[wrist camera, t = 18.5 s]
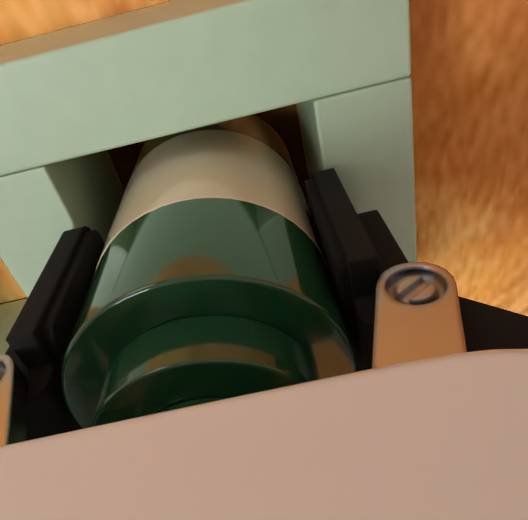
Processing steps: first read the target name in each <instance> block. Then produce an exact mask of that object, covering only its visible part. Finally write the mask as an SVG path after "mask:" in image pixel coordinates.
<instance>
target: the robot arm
mask: <svg viewBox="0 0 528 520" xmlns="http://www.w3.org/2000/svg"><path fill="white" fill-rule="evenodd" d="M305 186H306V192H307V197H308V203H309V208H310V214H311V218H312V221H313V224H314V227H315V230H316V233H317V236H318V239H319V242H320V245H321V248H322V251H323V254H324V257H325V260H326V263H327V268H328V271H329V274H330V277H331V280H332V283H333V286H334V289H335V292H336V295H337V298H338V301H339V304H340V307H341V310H342V313H343V316H344V319H345V322H346V325H347V327H348V330H349V333H350V336H351V339H352V342H353V345H354V349H355V353H356V357H357V361H358V372H354V373H349V374H344V375H339V376H334V377H329V378H325V379H320V380H315V381H310V382H305V383H300V384H295V385H290V386H286V387H281V388H276V389H271V390H266V391H261V392H256V393H251V394H247V395H242V396H237V397H232V398H227V399H223V400H218V401H213V402H208V403H203V404H199V405H194V406H189V407H184V408H180V409H175V410H170V411H165V412H160V413H156V414H151V415H146V416H141V417H137V418H132V419H127V420H122V421H118V422H113V423H108V424H104V425H99V426H94V427H89V428H85V429H81V428H80V426H79V425H78V424H77V423H76V421H75V420H74V418H73V416H72V415H71V413H70V412H69V409H68V407H67V404H66V402H65V399H64V395H63V390H62V385H61V368H62V363H63V359H64V355H65V352H66V349H67V347H68V344H69V341H70V338H71V336H72V333H73V330H74V328H75V325H76V322H77V320H78V317H79V314H80V312H81V309H82V306H83V304H84V301H85V298H86V296H87V293H88V290H89V288H90V285H91V282H92V280H93V277H94V274H95V271H96V266H97V263H98V261H99V258H100V255H101V253H102V250H103V248H104V245H105V243H104V241H103V239H102V237H101V235H100V234H99V232H98V231H97V230H91V229H90V228H89V227H87V226H84V227H80V228H76V229H71V230H67V231H64V232H63V233H62V235H61V237H60V239H59V241H58V243H57V245H56V246H55V248H54V250H53V252H52V254H51V256H50V258H49V259H48V261H47V263H46V265H45V267H44V269H43V271H42V273H41V274H40V276H39V278H38V280H37V282H36V284H35V286H34V287H33V289H32V291H31V293H30V295H29V297H28V299H27V300H26V302H25V304H24V306H23V308H22V310H21V312H20V314H19V315H18V317H17V319H16V321H15V323H14V325H13V327H12V328H11V330H10V332H9V334H8V336H7V338H6V341H7V343H8V344H9V347H8V349H7V351H6V353H5V354H0V520H528V316H524V315H521V314H517V313H514V312H511V311H507V310H504V309H500V308H497V307H493V306H490V305H486V304H483V303H480V302H476V301H473V300H469V299H466V298H462V297H459V296H458V291H457V285H456V282H455V279H454V277H453V276H452V275H451V274H450V273H449V272H448V271H447V270H446V269H444V268H442V267H440V266H438V265H434V264H430V263H426V262H408V260H407V259H406V257H405V255H404V254H403V252H402V250H401V249H400V247H399V245H398V244H397V242H396V240H395V238H394V237H393V235H392V233H391V232H390V230H389V228H388V227H387V225H386V223H385V222H384V220H383V218H382V217H381V215H380V213H379V212H378V211H377V210H372V211H368V212H363V213H359V214H357V213H356V211H355V209H354V207H353V205H352V203H351V201H350V199H349V197H348V195H347V193H346V191H345V189H344V187H343V185H342V183H341V181H340V179H339V177H338V175H337V173H336V171H335V169H334V168H330V169H326V170H322V171H318V172H313V173H312V179H309V180H305Z"/></svg>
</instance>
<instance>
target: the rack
mask: <svg viewBox="0 0 528 520" xmlns="http://www.w3.org/2000/svg"><path fill="white" fill-rule="evenodd" d="M410 74H411V46H410V13H409V0H173V1H169V2H165V3H161V4H157V5H153V6H150V7H146V8H142V9H138V10H134V11H130V12H127V13H123V14H119V15H115V16H111V17H107V18H104V19H100V20H96V21H92V22H88V23H84V24H81V25H77V26H73V27H69V28H65V29H61V30H58V31H54V32H50V33H46V34H42V35H38V36H35V37H31V38H27V39H23V40H19V41H15V42H12V43H8V44H4V45H0V258H1V259H2V261H3V262H4V264H5V265H6V267H7V268H8V270H9V271H10V273H11V274H12V276H13V277H14V279H15V280H16V282H17V283H18V285H19V286H20V288H21V289H22V291H23V292H24V294H25V295H26V297H27V298H26V299H22V300H18V301H13V302H9V303H4V304H0V354H5V353H6V351H7V349H8V347H9V344H8V343H7V341H6V338H7V336H8V334H9V332H10V330H11V328H12V327H13V325H14V323H15V321H16V319H17V317H18V315H19V314H20V312H21V310H22V308H23V306H24V304H25V302H26V300H27V299H28V297H29V295H30V293H31V291H32V289H33V287H34V286H35V284H36V282H37V280H38V278H39V276H40V274H41V273H42V271H43V269H44V267H45V265H46V263H47V261H48V259H49V258H50V256H51V254H52V252H53V250H54V248H55V246H56V245H57V243H58V241H59V239H60V237H61V235H62V233H63V232H64V231H67V230H71V229H76V228H80V227H84V226H87V227H89V228H90V229H91V230H97V231H98V232H99V234H100V235H101V237H102V239H103V241H104V243H105V242H106V240H107V237H108V234H109V232H110V229H111V226H112V224H113V221H114V218H115V216H116V213H117V210H118V208H119V205H120V202H121V200H122V197H123V195H124V192H125V190H124V187H123V185H122V183H121V180H120V178H119V176H118V174H117V171H116V169H115V167H114V164H113V162H112V160H111V157H110V155H109V153H108V151H107V150H109V149H113V148H117V147H122V146H126V145H130V144H134V143H138V142H142V141H146V140H150V139H154V138H158V137H162V136H167V135H171V134H175V133H179V132H183V131H187V130H191V129H195V128H199V127H203V126H207V125H212V124H216V123H220V122H224V121H228V120H232V119H236V118H240V117H244V116H248V115H253V114H257V113H261V112H265V111H269V110H273V109H277V108H281V107H285V106H289V105H293V104H296V107H297V113H298V119H299V124H300V130H301V136H302V142H303V147H304V153H305V159H306V164H307V170H308V176H309V179H312V173H313V172H318V171H322V170H326V169H330V168H334V169H335V171H336V173H337V175H338V177H339V179H340V181H341V183H342V185H343V187H344V189H345V191H346V193H347V195H348V197H349V199H350V201H351V203H352V205H353V207H354V209H355V211H356V213H357V214H359V213H363V212H368V211H372V210H377V211H378V212H379V213H380V215H381V217H382V218H383V220H384V222H385V223H386V225H387V227H388V228H389V230H390V232H391V233H392V235H393V237H394V238H395V240H396V242H397V244H398V245H399V247H400V249H401V250H402V252H403V254H404V255H405V257H406V259H407V260H408V262H417V243H416V210H415V177H414V144H413V110H412V80H411V78H410V77H409V75H410Z"/></svg>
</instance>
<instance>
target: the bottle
mask: <svg viewBox="0 0 528 520" xmlns="http://www.w3.org/2000/svg"><path fill="white" fill-rule="evenodd" d="M354 372H358V361H357V357H356V353H355V349H354V345H353V342H352V339H351V336H350V333H349V330H348V327H347V325H346V322H345V319H344V316H343V313H342V310H341V307H340V304H339V301H338V298H337V295H336V292H335V289H334V286H333V283H332V280H331V277H330V274H329V271H328V268H327V263H326V260H325V257H324V254H323V251H322V248H321V245H320V242H319V239H318V236H317V233H316V230H315V227H314V224H313V221H312V218H311V215H310V212H309V209H308V206H307V203H306V200H305V197H304V194H303V191H302V188H301V186H300V184H299V181H298V179H297V176H296V173H295V170H294V167H293V164H292V161H291V158H290V155H289V153H288V150H287V148H286V146H285V144H284V142H283V141H282V139H281V137H280V136H279V135H278V133H277V132H276V131H275V130H274V129H273V128H272V127H271V126H270V125H269V124H268V123H267V122H266V121H264V120H263V119H262V118H260V117H259V116H257V115H256V114H253V115H248V116H244V117H240V118H236V119H232V120H228V121H224V122H220V123H216V124H212V125H207V126H203V127H199V128H195V129H191V130H187V131H183V132H179V133H175V134H171V135H167V136H162V137H158V138H154V139H150V140H146V141H145V142H144V144H143V147H142V149H141V151H140V154H139V157H138V159H137V162H136V165H135V167H134V170H133V173H132V175H131V177H130V179H129V182H128V184H127V187H126V189H125V192H124V195H123V197H122V200H121V202H120V205H119V208H118V210H117V213H116V216H115V218H114V221H113V224H112V226H111V229H110V232H109V234H108V237H107V240H106V242H105V245H104V248H103V250H102V253H101V255H100V258H99V261H98V263H97V266H96V271H95V274H94V277H93V280H92V282H91V285H90V288H89V290H88V293H87V296H86V298H85V301H84V304H83V306H82V309H81V312H80V314H79V317H78V320H77V322H76V325H75V328H74V330H73V333H72V336H71V338H70V341H69V344H68V347H67V349H66V352H65V355H64V359H63V363H62V368H61V385H62V390H63V395H64V399H65V402H66V404H67V407H68V409H69V412H70V413H71V415H72V416H73V418H74V420H75V421H76V423H77V424H78V425H79V426H80V428H81V429H85V428H89V427H94V426H99V425H104V424H108V423H113V422H118V421H122V420H127V419H132V418H137V417H141V416H146V415H151V414H156V413H160V412H165V411H170V410H175V409H180V408H184V407H189V406H194V405H199V404H203V403H208V402H213V401H218V400H223V399H227V398H232V397H237V396H242V395H247V394H251V393H256V392H261V391H266V390H271V389H276V388H281V387H286V386H290V385H295V384H300V383H305V382H310V381H315V380H320V379H325V378H329V377H334V376H339V375H344V374H349V373H354Z"/></svg>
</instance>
